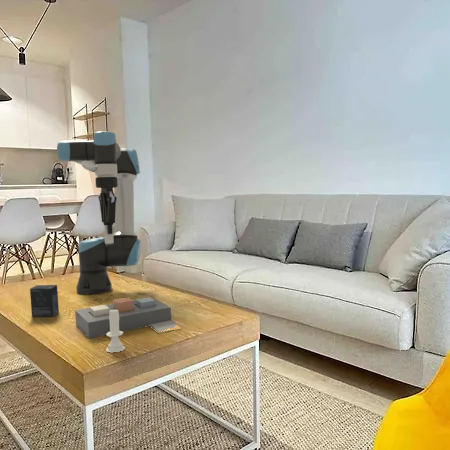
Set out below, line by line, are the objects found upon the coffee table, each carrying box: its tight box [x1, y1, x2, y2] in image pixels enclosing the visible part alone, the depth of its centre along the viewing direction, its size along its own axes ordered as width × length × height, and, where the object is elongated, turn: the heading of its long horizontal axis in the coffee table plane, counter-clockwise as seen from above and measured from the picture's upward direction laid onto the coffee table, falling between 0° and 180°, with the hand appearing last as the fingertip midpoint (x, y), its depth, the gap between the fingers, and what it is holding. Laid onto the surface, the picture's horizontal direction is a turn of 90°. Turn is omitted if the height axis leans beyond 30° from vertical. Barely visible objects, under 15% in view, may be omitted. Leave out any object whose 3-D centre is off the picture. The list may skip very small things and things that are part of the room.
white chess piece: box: [105, 309, 126, 354], centre depth 125 cm, size 5×5×12 cm
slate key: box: [135, 297, 155, 308], centre depth 153 cm, size 5×5×4 cm
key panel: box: [74, 297, 172, 339], centre depth 149 cm, size 16×28×5 cm, turn 123°
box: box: [29, 284, 60, 318], centre depth 160 cm, size 8×6×11 cm
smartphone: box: [149, 319, 180, 333], centre depth 147 cm, size 8×1×15 cm
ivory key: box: [89, 304, 110, 317], centre depth 144 cm, size 5×5×4 cm
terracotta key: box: [112, 297, 133, 312], centre depth 149 cm, size 5×5×4 cm
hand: (109, 242), depth 157 cm, fingers closed
